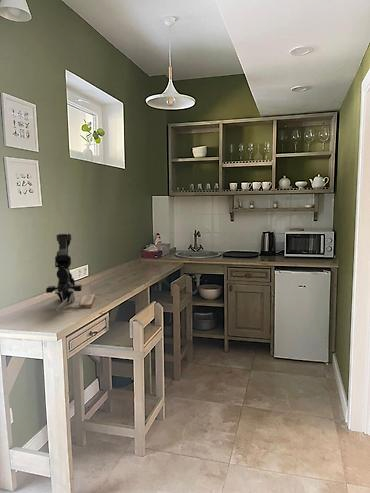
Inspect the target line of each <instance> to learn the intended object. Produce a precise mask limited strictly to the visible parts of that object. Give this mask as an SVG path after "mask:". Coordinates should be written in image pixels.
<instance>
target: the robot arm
mask: <svg viewBox="0 0 370 493" xmlns="http://www.w3.org/2000/svg"><path fill="white" fill-rule="evenodd" d="M56 241H57V243H58V251H57V252H56V256H55V258H54V261H55V262H54V268H57V272H56V277H57V280H58V281H57V282H58V283H57V285H49V286H47V287H46V289H45V291H46V292H45V293H47V294H50V293H51V294H52V293H53V292H54V294H55V295H57V296H58V298H59V300H60V302H61V303H62V302H63V301H64V299H65V300H66V299H67V297H68V299H67V303H66V304H69V303H70V302H69V300H70V296H71V294H72V293H74V292H81V291H82V290H83V285H82V284H76V282H75V280H76V279H74V277H73V275H72V273H71V272H70V266H71V265H72V258H71V255H69V247H70V245H71V243H72V234H71V233H69V232H67V233H66V232H64V233H63V232H62V233H58V234H56ZM74 294H75V293H74Z"/></svg>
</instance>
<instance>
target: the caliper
mask: <svg viewBox="0 0 370 493" xmlns="http://www.w3.org/2000/svg"><path fill="white" fill-rule="evenodd" d="M67 299H68V297H67V298H66V299H65V300H63V302H61V303H60V304H59V305H58V306H56V308H55V311H58V310H61V308H62V307H64V306H65V305H66V304H68V303H67ZM70 302H71V303H74V302H75V293H72V294H71V296H70V300H69V303H70Z"/></svg>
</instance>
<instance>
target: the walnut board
mask: <svg viewBox="0 0 370 493" xmlns="http://www.w3.org/2000/svg"><path fill="white" fill-rule="evenodd" d="M95 299H96V294H84V295H83V296H82V298H81V300H80V302H79V304H78V309H92V307H93V304H94V302H95Z"/></svg>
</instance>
